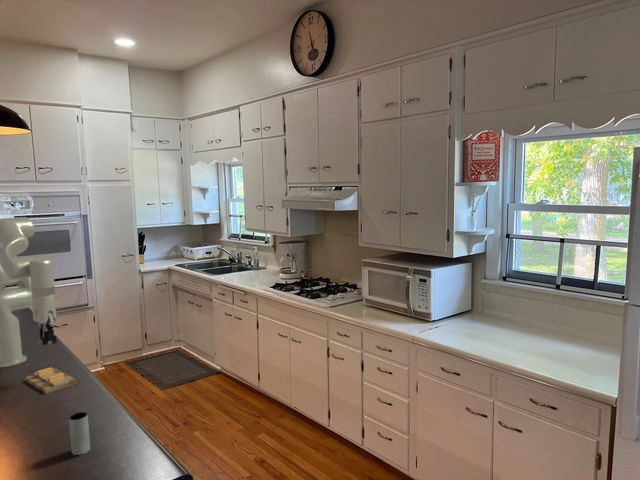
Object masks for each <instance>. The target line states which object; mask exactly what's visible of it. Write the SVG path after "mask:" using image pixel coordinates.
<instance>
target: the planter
mask: <svg viewBox="0 0 640 480" xmlns="http://www.w3.org/2000/svg"><path fill="white" fill-rule="evenodd" d="M68 423H69V435H70V445H71V454H72V455H73V454H74V455H73V456H75V455H79V456H82V455H81V454H83V455H85V453H86V454H88V453H89V452H90V451H91V441H90V430H89V429H90V427H89V415H88V413H87V412H84V411H79V412H76V413H73V414H71V415H69V418H68ZM89 450H90V451H89ZM88 451H89V452H88Z"/></svg>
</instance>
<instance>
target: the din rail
mask: <svg viewBox="0 0 640 480" xmlns="http://www.w3.org/2000/svg"><path fill="white" fill-rule="evenodd" d="M33 375H35V376H37V377H38V378H40V379H42V380H43V381H45V382H47V383H49V384H50V385H52V386H54V387H56V386H59V385H62V384H65V383H68V382H69V380H67V379H65V378H63V379H60V380H57V381H53V382H48V377H50V376H53V375H57V374H56V373H54V372H52V373H48V374H45V375H42V376H38V375H37V371H36V372H33Z"/></svg>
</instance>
